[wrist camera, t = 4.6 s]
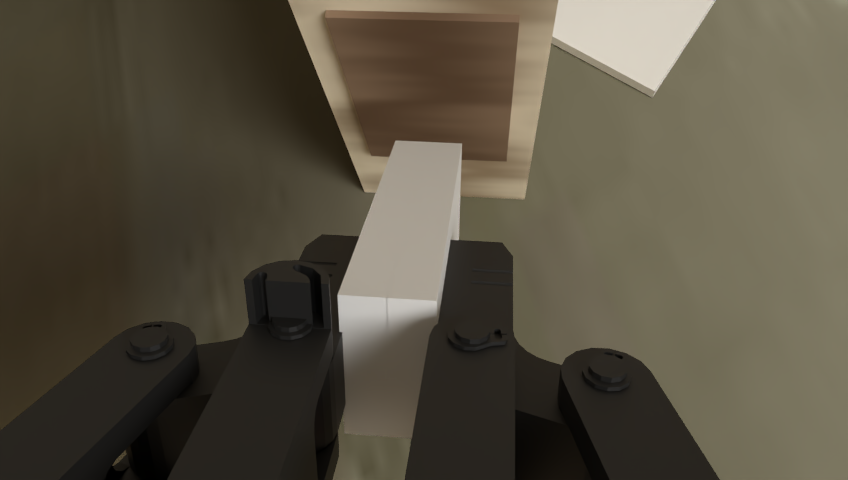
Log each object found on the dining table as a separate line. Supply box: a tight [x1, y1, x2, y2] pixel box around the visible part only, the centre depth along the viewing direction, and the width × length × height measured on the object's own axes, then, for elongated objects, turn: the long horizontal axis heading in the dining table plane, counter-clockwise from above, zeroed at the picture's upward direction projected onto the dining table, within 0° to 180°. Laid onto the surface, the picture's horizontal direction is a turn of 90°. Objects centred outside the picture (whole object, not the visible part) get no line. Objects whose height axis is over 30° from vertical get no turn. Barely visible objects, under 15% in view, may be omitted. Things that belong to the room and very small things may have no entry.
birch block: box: [288, 0, 558, 199], centre depth 23 cm, size 6×6×14 cm
